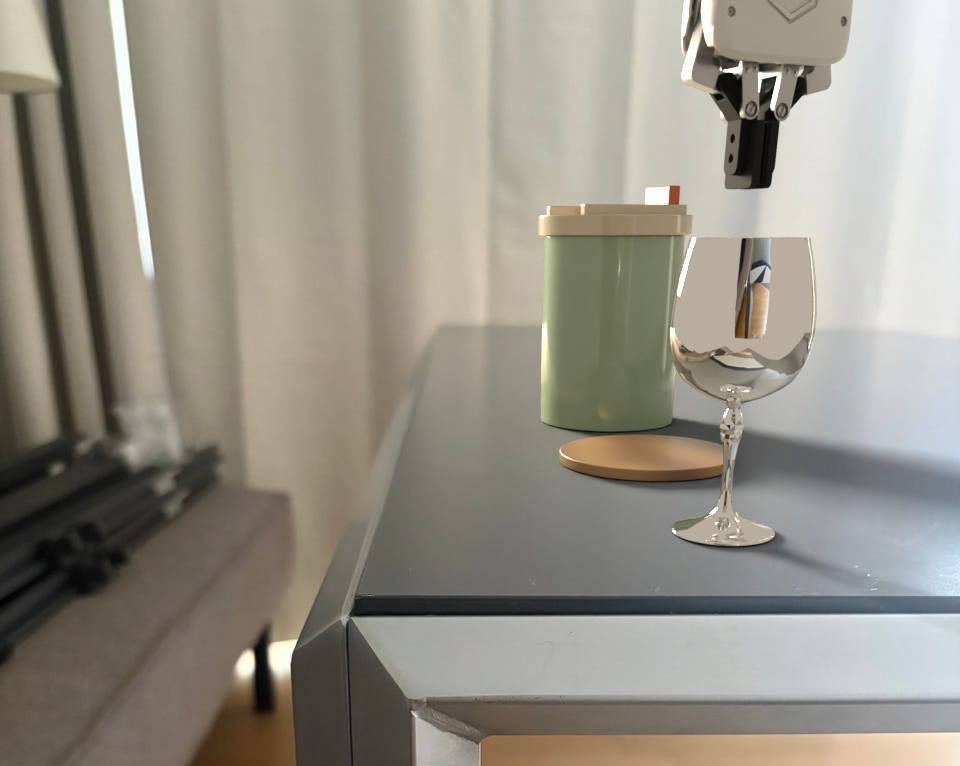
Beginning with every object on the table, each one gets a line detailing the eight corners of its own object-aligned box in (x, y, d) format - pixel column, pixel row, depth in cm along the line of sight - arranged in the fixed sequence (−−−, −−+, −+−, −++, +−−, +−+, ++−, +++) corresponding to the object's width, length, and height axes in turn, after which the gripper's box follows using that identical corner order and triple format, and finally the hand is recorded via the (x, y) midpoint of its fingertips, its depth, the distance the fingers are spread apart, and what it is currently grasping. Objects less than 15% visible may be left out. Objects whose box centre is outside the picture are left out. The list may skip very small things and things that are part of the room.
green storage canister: (634, 404, 76) (645, 207, 70) (706, 427, 67) (724, 203, 62) (513, 412, 72) (515, 206, 67) (571, 437, 64) (579, 202, 59)
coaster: (677, 439, 63) (678, 430, 63) (771, 472, 54) (773, 461, 54) (532, 451, 60) (532, 441, 60) (608, 488, 51) (608, 476, 51)
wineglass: (629, 531, 44) (646, 237, 39) (703, 508, 47) (726, 237, 43) (744, 559, 40) (777, 238, 35) (815, 531, 44) (853, 237, 39)
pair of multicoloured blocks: (651, 215, 68) (653, 187, 67) (682, 214, 64) (684, 185, 63) (603, 214, 66) (605, 187, 66) (632, 214, 63) (634, 184, 62)
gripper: (706, -183, 55) (679, 184, 62) (922, -148, 59) (874, 188, 66) (640, -139, 61) (622, 188, 68) (840, -111, 66) (804, 192, 73)
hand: (747, 187), depth 67 cm, fingers closed
